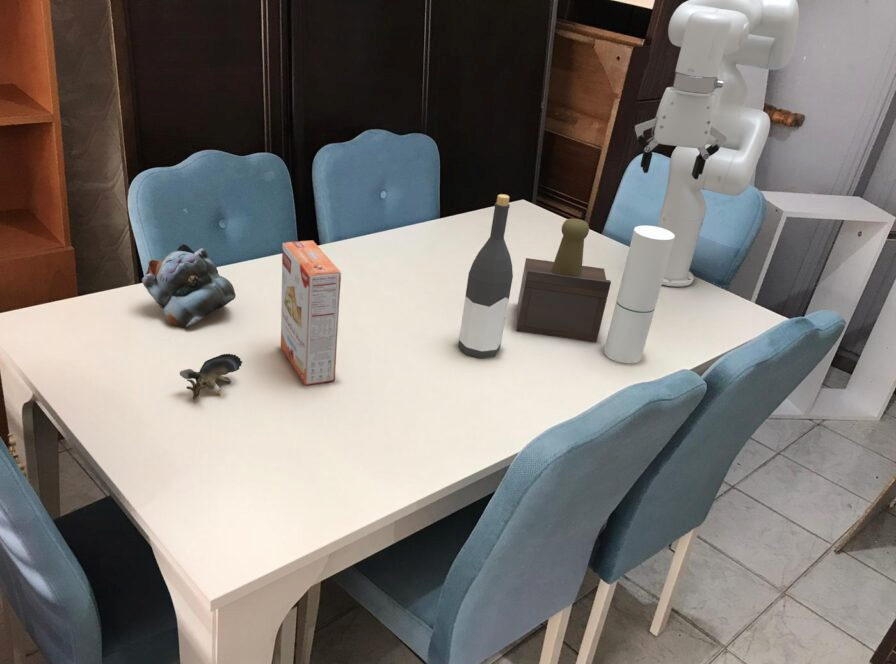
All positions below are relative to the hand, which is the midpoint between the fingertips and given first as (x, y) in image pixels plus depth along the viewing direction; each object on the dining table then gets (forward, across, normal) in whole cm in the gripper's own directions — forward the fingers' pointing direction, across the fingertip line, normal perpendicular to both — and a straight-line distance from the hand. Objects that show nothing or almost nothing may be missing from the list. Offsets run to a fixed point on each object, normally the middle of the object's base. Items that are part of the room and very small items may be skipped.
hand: (669, 174), depth 166 cm
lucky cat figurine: (+31, +88, +30) cm, 98 cm away
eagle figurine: (+31, +75, +56) cm, 98 cm away
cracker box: (+31, +62, +43) cm, 81 cm away
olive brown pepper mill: (+20, +17, +10) cm, 28 cm away
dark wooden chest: (+30, +17, +11) cm, 36 cm away
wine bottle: (+31, +32, +27) cm, 52 cm away
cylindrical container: (+31, +4, +21) cm, 37 cm away
